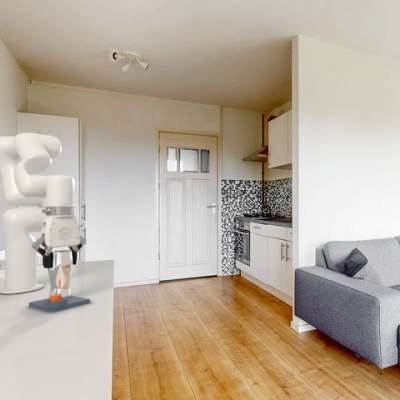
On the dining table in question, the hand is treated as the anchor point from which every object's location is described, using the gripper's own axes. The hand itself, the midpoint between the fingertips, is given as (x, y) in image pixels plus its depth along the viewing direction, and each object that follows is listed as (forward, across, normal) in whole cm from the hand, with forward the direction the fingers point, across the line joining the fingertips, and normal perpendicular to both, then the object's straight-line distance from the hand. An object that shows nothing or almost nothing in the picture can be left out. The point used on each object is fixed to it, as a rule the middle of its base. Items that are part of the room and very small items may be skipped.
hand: (60, 265), depth 113 cm
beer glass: (+10, 0, 0) cm, 10 cm away
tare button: (+10, -5, -7) cm, 13 cm away
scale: (+12, -2, -2) cm, 13 cm away
